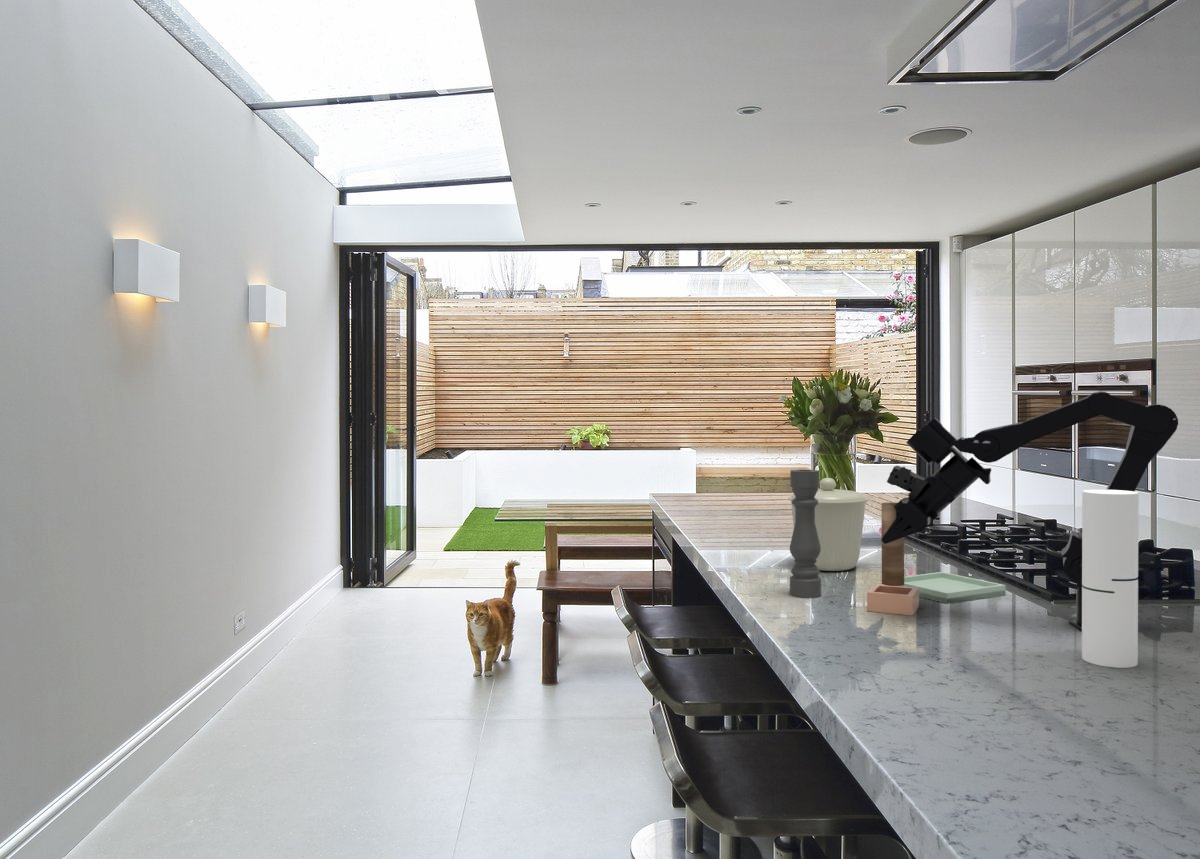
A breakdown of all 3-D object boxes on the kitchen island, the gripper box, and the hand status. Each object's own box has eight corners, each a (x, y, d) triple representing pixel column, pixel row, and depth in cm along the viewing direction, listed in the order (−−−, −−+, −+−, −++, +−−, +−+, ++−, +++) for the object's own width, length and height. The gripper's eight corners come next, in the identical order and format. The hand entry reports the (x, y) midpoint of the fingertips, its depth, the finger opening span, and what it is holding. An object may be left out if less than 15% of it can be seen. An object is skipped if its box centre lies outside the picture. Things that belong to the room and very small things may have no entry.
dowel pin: (906, 586, 162) (906, 504, 161) (883, 585, 162) (883, 504, 162) (901, 581, 166) (901, 502, 165) (879, 581, 166) (879, 502, 166)
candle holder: (818, 591, 180) (818, 469, 179) (823, 598, 173) (822, 471, 173) (788, 591, 180) (787, 469, 180) (791, 597, 174) (790, 471, 173)
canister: (773, 565, 210) (772, 477, 209) (833, 558, 217) (832, 473, 217) (822, 578, 193) (821, 482, 193) (885, 570, 201) (885, 478, 201)
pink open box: (918, 606, 166) (918, 587, 166) (912, 615, 159) (912, 596, 158) (875, 602, 169) (875, 584, 169) (867, 611, 162) (866, 592, 162)
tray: (1005, 595, 174) (1005, 585, 174) (947, 603, 167) (947, 593, 167) (941, 581, 189) (941, 571, 189) (885, 588, 182) (885, 579, 182)
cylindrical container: (1145, 668, 126) (1146, 494, 125) (1091, 666, 127) (1092, 494, 126) (1126, 654, 133) (1127, 489, 132) (1075, 652, 134) (1075, 489, 133)
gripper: (922, 448, 170) (863, 503, 175) (906, 453, 153) (842, 514, 159) (966, 490, 166) (905, 545, 172) (955, 500, 150) (888, 560, 155)
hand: (885, 540), depth 164 cm, fingers closed on dowel pin, 4 cm apart
